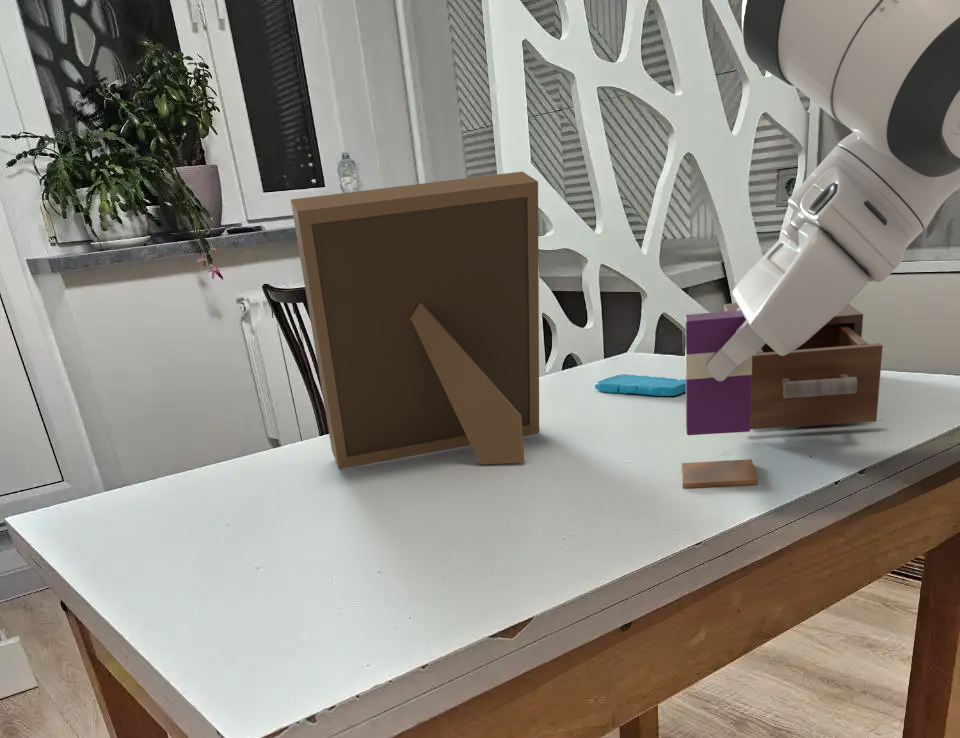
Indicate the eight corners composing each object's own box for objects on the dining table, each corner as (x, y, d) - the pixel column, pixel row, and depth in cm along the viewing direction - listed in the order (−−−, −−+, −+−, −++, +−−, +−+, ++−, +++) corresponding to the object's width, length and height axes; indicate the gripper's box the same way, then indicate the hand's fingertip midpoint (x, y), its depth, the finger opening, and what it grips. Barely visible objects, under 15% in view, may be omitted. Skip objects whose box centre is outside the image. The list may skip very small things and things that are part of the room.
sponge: (660, 392, 104) (696, 376, 106) (590, 383, 113) (624, 368, 115) (662, 405, 104) (697, 389, 107) (592, 395, 114) (626, 380, 116)
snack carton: (746, 421, 77) (749, 309, 73) (750, 431, 73) (753, 315, 69) (685, 425, 78) (684, 314, 74) (686, 435, 74) (685, 321, 71)
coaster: (751, 463, 79) (751, 459, 79) (757, 484, 74) (758, 479, 74) (681, 467, 81) (681, 463, 80) (682, 488, 75) (682, 483, 75)
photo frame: (333, 459, 97) (285, 200, 86) (526, 425, 101) (504, 174, 90) (353, 496, 84) (300, 196, 73) (574, 455, 88) (556, 166, 77)
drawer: (886, 433, 80) (893, 353, 77) (751, 441, 82) (753, 364, 79) (846, 386, 97) (851, 319, 94) (736, 394, 99) (737, 329, 96)
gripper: (798, 190, 76) (679, 323, 82) (840, 196, 58) (684, 366, 64) (851, 242, 77) (730, 369, 83) (908, 264, 59) (748, 424, 65)
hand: (710, 368), depth 73 cm, fingers closed on snack carton, 3 cm apart
